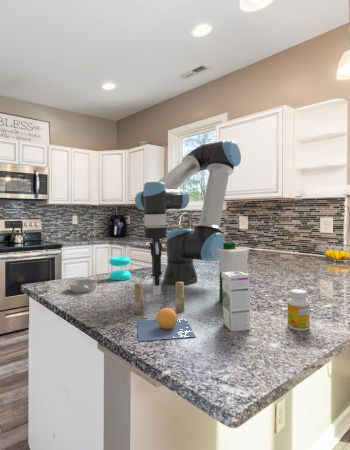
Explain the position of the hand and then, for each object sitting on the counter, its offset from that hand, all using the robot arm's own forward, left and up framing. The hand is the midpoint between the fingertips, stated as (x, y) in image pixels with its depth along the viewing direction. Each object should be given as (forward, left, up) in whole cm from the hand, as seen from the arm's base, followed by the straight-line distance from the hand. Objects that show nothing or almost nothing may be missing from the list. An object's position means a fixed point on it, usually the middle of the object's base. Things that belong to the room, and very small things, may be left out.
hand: (157, 293), depth 109 cm
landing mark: (0, +27, -2) cm, 27 cm away
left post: (+7, +13, -2) cm, 15 cm away
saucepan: (+27, -17, -3) cm, 32 cm away
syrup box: (-19, +29, -3) cm, 35 cm away
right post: (-6, +13, -2) cm, 15 cm away
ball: (0, +27, 0) cm, 27 cm away
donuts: (+14, -40, -3) cm, 42 cm away
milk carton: (-26, +6, -3) cm, 27 cm away
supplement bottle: (-35, +32, -3) cm, 47 cm away
